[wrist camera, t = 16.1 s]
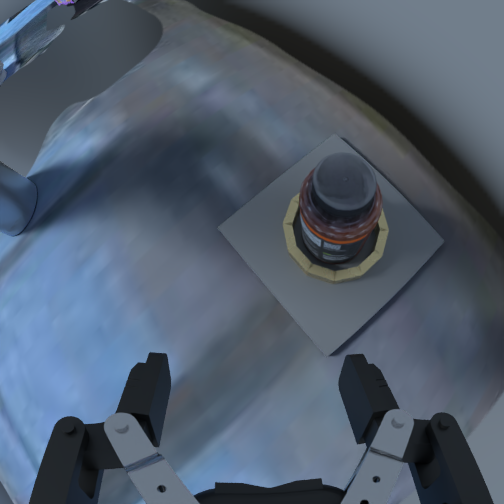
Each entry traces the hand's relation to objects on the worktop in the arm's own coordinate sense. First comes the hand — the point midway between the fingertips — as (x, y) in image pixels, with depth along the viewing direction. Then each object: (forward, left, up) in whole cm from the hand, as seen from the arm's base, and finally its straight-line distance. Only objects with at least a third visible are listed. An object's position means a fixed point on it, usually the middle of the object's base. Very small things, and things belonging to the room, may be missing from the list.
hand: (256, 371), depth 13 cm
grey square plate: (-5, +11, -15) cm, 19 cm away
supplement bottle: (-5, +10, -15) cm, 19 cm away
